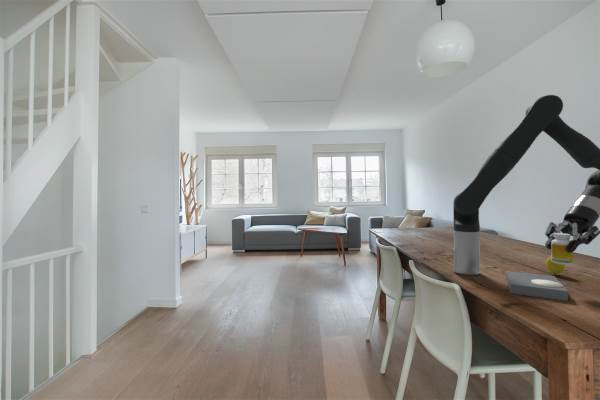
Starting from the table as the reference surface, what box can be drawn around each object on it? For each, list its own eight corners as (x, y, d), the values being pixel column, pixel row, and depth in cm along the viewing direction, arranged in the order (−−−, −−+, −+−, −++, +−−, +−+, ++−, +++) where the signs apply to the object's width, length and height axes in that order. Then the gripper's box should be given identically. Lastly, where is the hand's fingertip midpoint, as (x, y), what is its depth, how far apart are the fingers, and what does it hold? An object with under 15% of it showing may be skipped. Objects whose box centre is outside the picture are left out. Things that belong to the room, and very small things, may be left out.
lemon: (568, 277, 110) (568, 256, 110) (551, 276, 111) (551, 256, 111) (558, 273, 115) (558, 253, 115) (542, 272, 116) (542, 253, 116)
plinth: (510, 293, 94) (510, 283, 94) (505, 278, 109) (505, 270, 109) (568, 301, 87) (568, 290, 87) (554, 284, 102) (554, 275, 102)
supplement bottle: (575, 265, 92) (575, 235, 91) (553, 263, 94) (553, 234, 94) (570, 262, 96) (570, 233, 96) (549, 260, 99) (549, 232, 99)
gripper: (555, 203, 103) (529, 238, 101) (606, 205, 90) (577, 245, 87) (566, 217, 105) (540, 252, 102) (618, 221, 91) (590, 261, 88)
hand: (557, 249), depth 95 cm, fingers closed on supplement bottle, 5 cm apart
